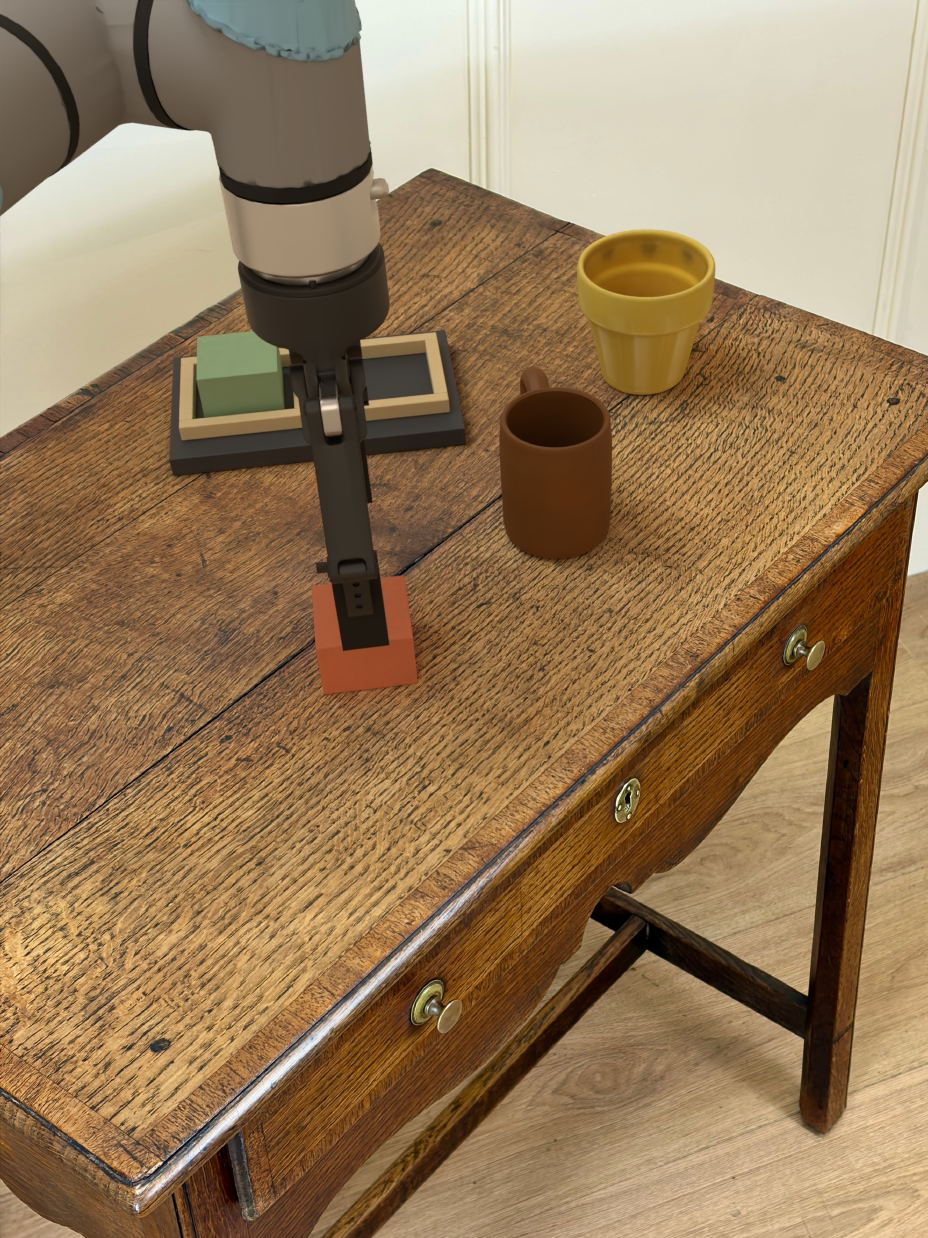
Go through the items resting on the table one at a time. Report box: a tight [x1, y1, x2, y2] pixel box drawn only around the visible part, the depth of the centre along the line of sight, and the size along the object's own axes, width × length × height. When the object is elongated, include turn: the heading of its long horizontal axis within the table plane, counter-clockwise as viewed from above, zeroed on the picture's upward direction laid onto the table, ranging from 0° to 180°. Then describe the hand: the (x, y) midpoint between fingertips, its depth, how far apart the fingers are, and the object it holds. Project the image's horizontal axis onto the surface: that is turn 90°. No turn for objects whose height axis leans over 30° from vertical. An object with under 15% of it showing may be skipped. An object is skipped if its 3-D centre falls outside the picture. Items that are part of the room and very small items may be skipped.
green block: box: [196, 330, 285, 418], centre depth 113 cm, size 6×6×4 cm
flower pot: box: [576, 228, 716, 396], centre depth 115 cm, size 10×10×10 cm
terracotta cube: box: [311, 574, 419, 695], centre depth 94 cm, size 6×6×4 cm
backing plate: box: [168, 329, 467, 477], centre depth 115 cm, size 22×14×3 cm, turn 98°
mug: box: [498, 365, 613, 560], centre depth 103 cm, size 12×8×9 cm, turn 13°
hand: (358, 569), depth 91 cm, fingers open, 13 cm apart
